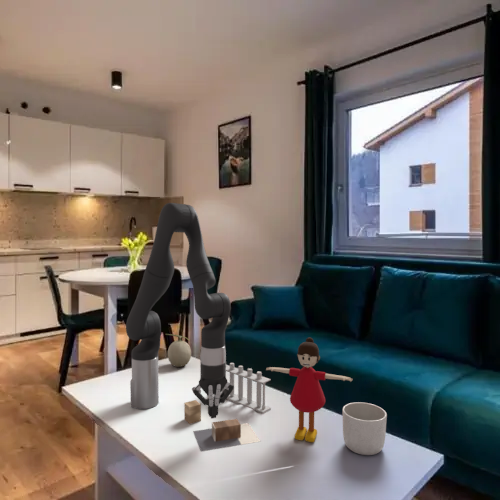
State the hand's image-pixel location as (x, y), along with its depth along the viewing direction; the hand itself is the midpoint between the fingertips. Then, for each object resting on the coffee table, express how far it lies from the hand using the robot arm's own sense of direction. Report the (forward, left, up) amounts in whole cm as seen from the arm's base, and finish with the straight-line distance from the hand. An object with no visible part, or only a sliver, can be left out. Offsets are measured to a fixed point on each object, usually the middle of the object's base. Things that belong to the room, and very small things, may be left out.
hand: (213, 416), depth 126 cm
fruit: (-17, +66, -7) cm, 69 cm away
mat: (+4, +1, -7) cm, 8 cm away
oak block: (-7, +12, -7) cm, 16 cm away
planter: (+44, -6, -7) cm, 45 cm away
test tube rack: (+9, +27, -7) cm, 29 cm away
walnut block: (0, 0, -5) cm, 5 cm away
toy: (+29, +2, -7) cm, 30 cm away
